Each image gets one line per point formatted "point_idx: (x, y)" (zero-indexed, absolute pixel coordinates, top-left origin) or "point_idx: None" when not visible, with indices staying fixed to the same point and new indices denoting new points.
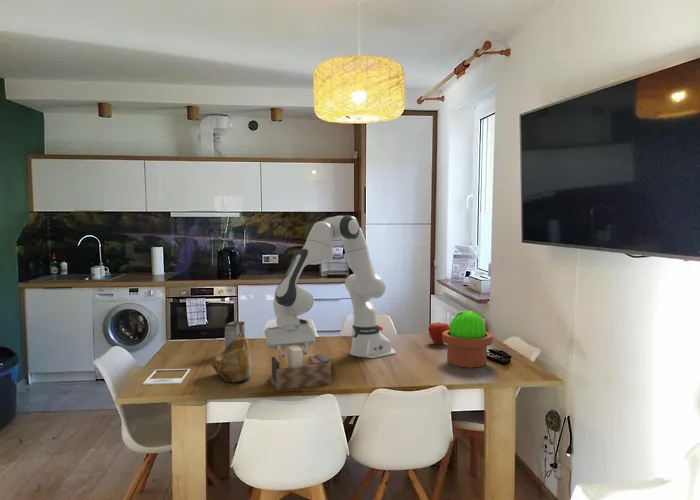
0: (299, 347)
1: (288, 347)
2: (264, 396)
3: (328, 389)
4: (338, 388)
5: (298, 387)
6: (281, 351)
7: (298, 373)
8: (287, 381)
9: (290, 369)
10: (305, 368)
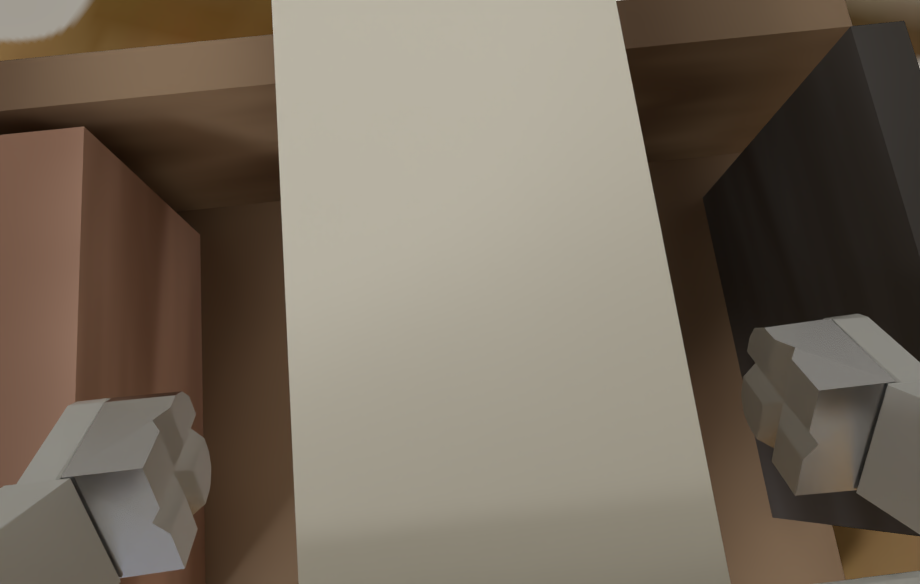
0: (290, 254)
1: (697, 464)
2: (848, 10)
3: (140, 46)
4: (23, 50)
5: None
6: (905, 369)
7: None
8: None
9: None
10: None
